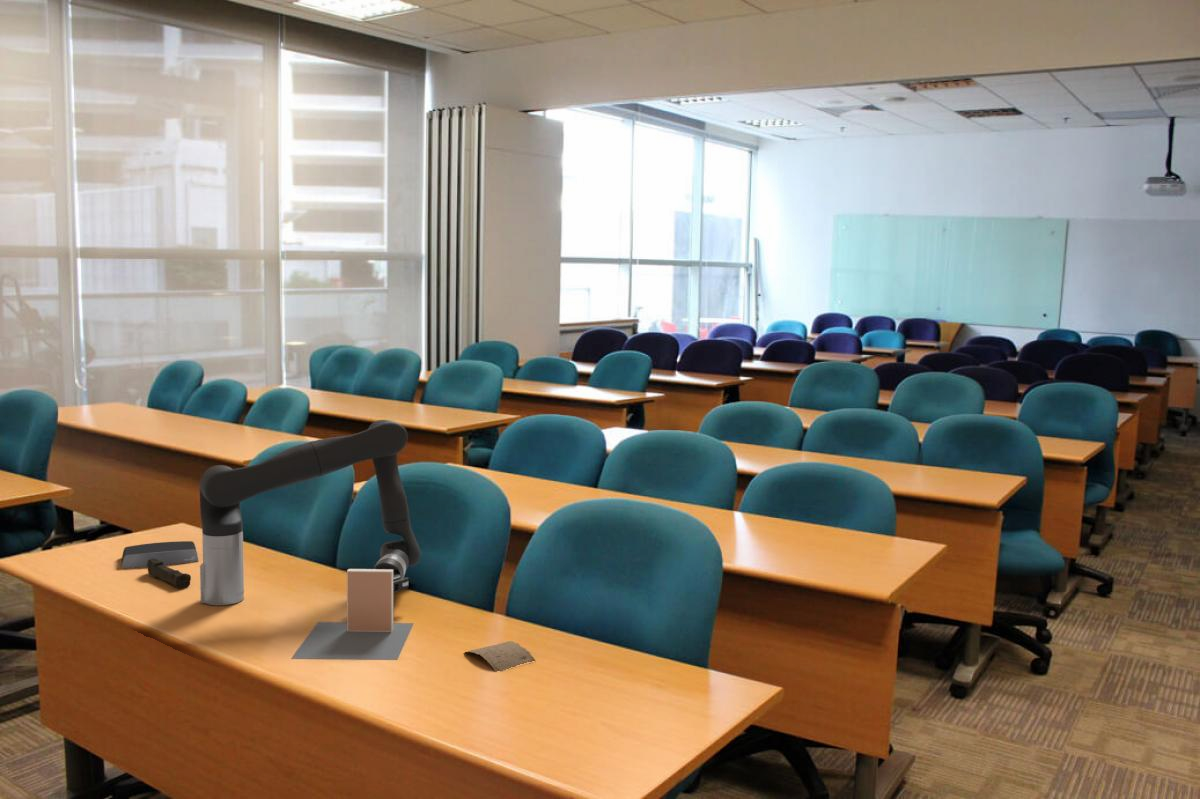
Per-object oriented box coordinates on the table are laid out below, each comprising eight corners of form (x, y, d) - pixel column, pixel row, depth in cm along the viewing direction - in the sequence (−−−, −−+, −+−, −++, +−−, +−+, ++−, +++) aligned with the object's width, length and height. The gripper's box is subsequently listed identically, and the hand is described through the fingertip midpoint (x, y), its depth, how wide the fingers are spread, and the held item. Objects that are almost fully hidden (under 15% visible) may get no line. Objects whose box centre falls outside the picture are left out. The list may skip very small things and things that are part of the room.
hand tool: (191, 587, 245) (191, 570, 245) (176, 591, 242) (176, 573, 242) (159, 572, 258) (158, 555, 257) (144, 575, 255) (143, 558, 254)
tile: (347, 631, 215) (346, 570, 214) (348, 628, 217) (348, 568, 215) (391, 631, 216) (391, 571, 214) (393, 629, 217) (393, 569, 216)
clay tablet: (538, 665, 202) (538, 653, 201) (498, 677, 195) (498, 664, 195) (498, 645, 212) (498, 633, 212) (459, 655, 206) (460, 643, 206)
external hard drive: (198, 564, 267) (198, 549, 266) (121, 571, 258) (120, 556, 258) (196, 552, 278) (196, 538, 278) (122, 558, 270) (121, 544, 269)
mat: (290, 660, 199) (290, 658, 199) (318, 624, 221) (318, 621, 221) (397, 662, 200) (397, 659, 200) (413, 625, 222) (413, 623, 222)
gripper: (362, 557, 238) (346, 578, 220) (415, 557, 238) (404, 579, 221) (362, 586, 238) (346, 609, 221) (415, 587, 239) (404, 610, 222)
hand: (375, 594), depth 221 cm, fingers closed
